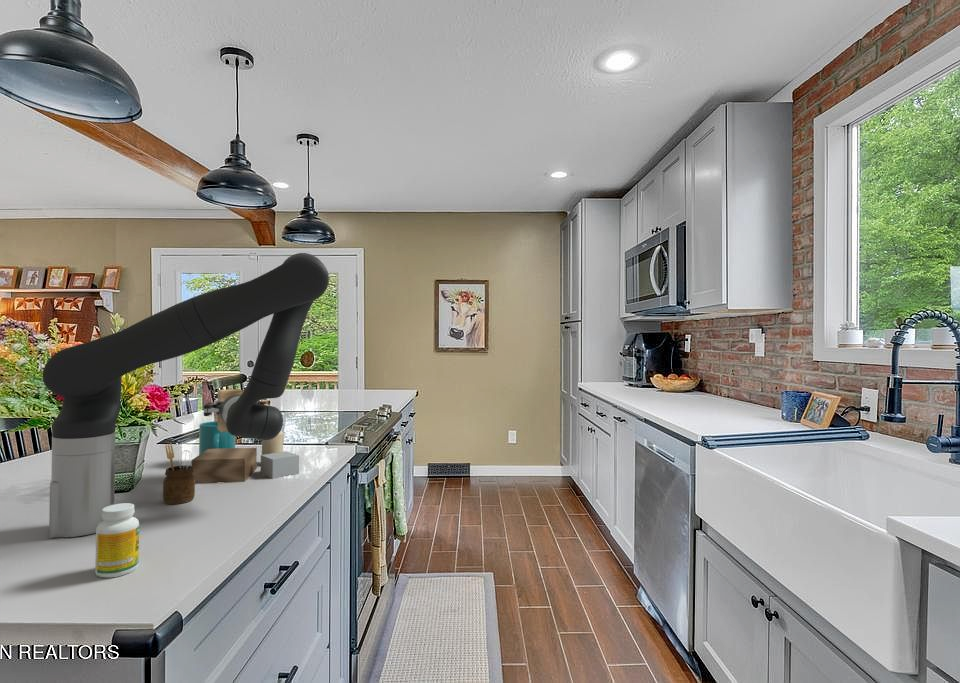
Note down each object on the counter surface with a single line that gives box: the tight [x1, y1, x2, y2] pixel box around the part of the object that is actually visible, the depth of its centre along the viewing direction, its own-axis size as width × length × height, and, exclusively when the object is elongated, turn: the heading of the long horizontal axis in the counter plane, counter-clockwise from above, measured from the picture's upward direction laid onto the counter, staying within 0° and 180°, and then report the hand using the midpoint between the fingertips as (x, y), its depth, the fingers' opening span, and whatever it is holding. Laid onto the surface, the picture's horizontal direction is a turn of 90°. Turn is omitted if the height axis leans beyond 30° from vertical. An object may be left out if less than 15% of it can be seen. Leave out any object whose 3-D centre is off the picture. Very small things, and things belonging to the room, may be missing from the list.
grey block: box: [260, 450, 300, 479], centre depth 137 cm, size 7×7×5 cm
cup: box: [198, 420, 236, 456], centre depth 145 cm, size 9×12×11 cm
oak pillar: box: [217, 388, 244, 432], centre depth 133 cm, size 5×5×10 cm
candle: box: [261, 430, 284, 455], centre depth 147 cm, size 6×6×10 cm
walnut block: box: [191, 447, 258, 485], centre depth 134 cm, size 12×13×6 cm
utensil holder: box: [162, 442, 196, 505], centre depth 113 cm, size 6×6×12 cm
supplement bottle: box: [94, 502, 140, 579], centre depth 79 cm, size 5×5×10 cm
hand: (228, 404), depth 136 cm, fingers closed on oak pillar, 5 cm apart
